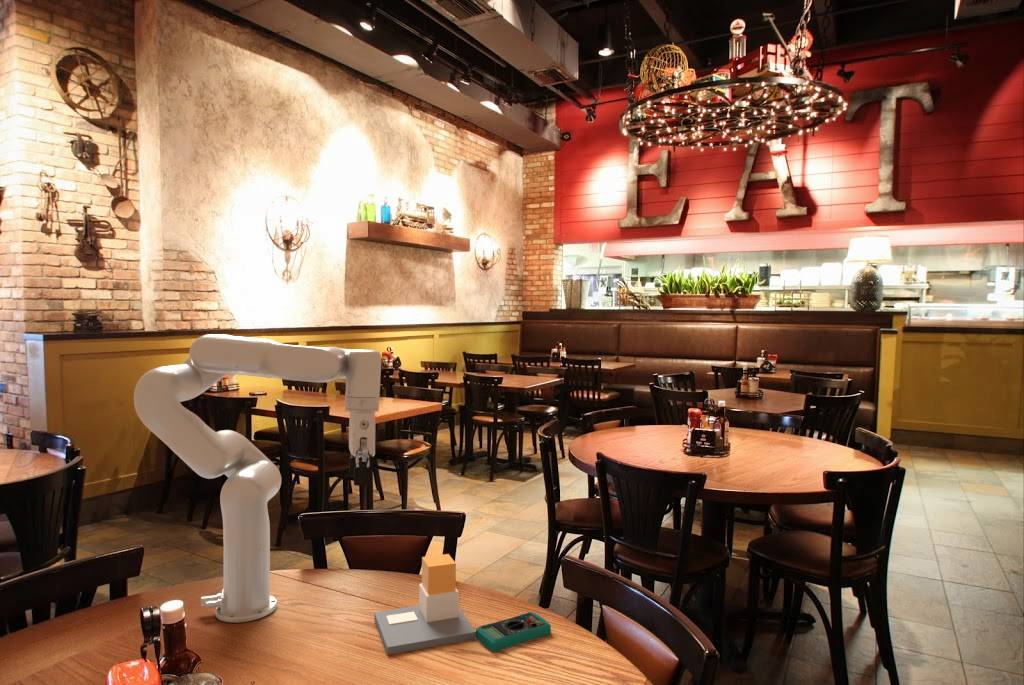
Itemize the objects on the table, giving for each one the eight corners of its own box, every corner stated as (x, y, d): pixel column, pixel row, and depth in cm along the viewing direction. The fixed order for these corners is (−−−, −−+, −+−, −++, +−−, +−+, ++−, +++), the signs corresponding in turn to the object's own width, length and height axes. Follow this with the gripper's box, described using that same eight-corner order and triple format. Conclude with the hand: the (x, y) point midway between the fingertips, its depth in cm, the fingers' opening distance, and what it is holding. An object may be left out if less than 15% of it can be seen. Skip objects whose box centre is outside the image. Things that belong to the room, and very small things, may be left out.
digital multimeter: (553, 636, 128) (553, 622, 128) (492, 655, 120) (492, 640, 120) (533, 622, 134) (533, 608, 134) (474, 639, 126) (474, 625, 126)
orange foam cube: (428, 595, 130) (428, 566, 130) (421, 584, 136) (422, 557, 135) (455, 591, 132) (455, 563, 132) (448, 580, 138) (448, 553, 138)
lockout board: (387, 655, 119) (387, 619, 119) (374, 619, 134) (374, 587, 134) (475, 639, 126) (476, 605, 125) (454, 606, 140) (454, 576, 140)
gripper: (385, 409, 132) (381, 488, 132) (373, 400, 148) (370, 470, 148) (349, 409, 129) (345, 490, 129) (341, 399, 145) (338, 471, 146)
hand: (358, 479), depth 139 cm, fingers open, 9 cm apart
